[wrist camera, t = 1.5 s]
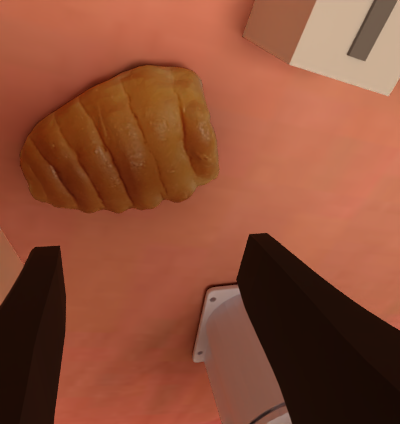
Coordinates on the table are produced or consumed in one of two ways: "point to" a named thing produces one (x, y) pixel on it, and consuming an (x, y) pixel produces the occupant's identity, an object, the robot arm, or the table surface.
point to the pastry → (124, 144)
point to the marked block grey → (332, 38)
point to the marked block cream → (8, 266)
